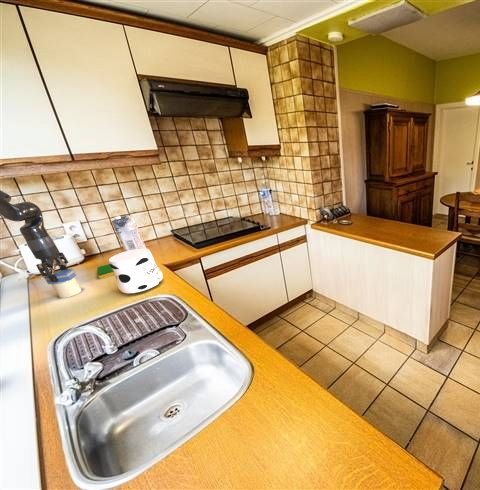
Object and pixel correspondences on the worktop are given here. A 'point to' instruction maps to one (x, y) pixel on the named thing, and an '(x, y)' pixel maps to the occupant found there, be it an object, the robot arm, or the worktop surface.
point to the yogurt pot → (66, 288)
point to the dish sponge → (104, 271)
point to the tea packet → (62, 276)
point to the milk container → (135, 271)
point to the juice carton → (128, 232)
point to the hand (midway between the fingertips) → (61, 277)
